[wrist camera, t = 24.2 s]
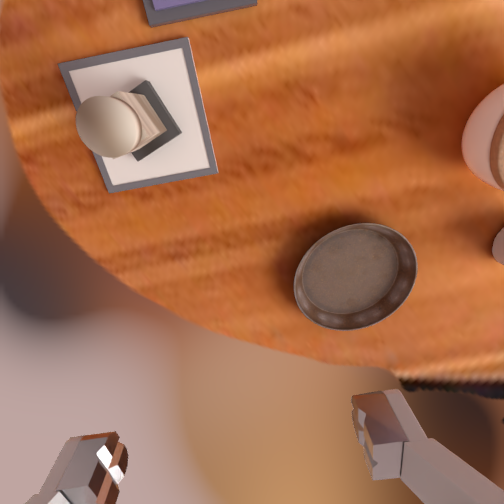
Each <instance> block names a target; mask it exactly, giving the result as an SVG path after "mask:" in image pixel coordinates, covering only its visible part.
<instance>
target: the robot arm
mask: <svg viewBox="0 0 504 504" xmlns="http://www.w3.org/2000/svg"><path fill="white" fill-rule="evenodd" d="M351 403H352V406H353V408H354V409H353V411H352V420H353V425H354V428H355V432H356V435H357V438H358V441H359V443H360V444H361V445H363V446H364V458H365V461H366V464H367V466H368V469H369V471H370V474H371V477H372V480H381V479H390V478H400V477H401V480H402V481H403V482H404V483H405V484H406V485H407V486H408V487H409V488H410V489H411V490H412V491H413V492H414V493H415V494H416V495H417V496H418V497H419V498H420V500H422V502H423V503H424V504H504V491H503V490H502V489H501V488H499V487H498V486H496V485H495V484H494V483H492V482H491V481H490V480H488V479H487V478H486V477H484V476H483V475H482V474H480V473H479V472H478V471H476V470H475V469H474V468H472V467H471V466H470V465H468V464H467V463H465V462H464V461H463V460H461V459H460V458H459V457H457V456H456V455H455V454H453V453H452V452H451V451H449V450H448V449H447V448H445V447H444V446H442V445H441V444H440V443H438V442H437V441H436V440H434V439H433V438H430V439H428V438H427V437H426V435H425V433H424V431H423V430H422V428H421V426H420V424H419V423H418V421H417V419H416V418H415V416H414V414H413V412H412V410H411V409H410V407H409V405H408V404H407V402H406V400H405V398H404V397H403V395H402V393H401V392H400V391H399V390H398V389H392V390H386V391H377V392H371V393H365V394H359V395H353V396H352V398H351ZM118 440H119V436H118V434H117V433H116V431H115V432H108V433H101V434H93V435H85V436H78V437H71V438H70V439H69V440H68V441H67V442H66V443H65V445H64V447H63V449H62V450H61V452H60V454H59V456H58V458H57V460H56V462H55V464H54V466H53V468H52V469H51V471H50V473H49V475H48V477H47V479H46V481H45V483H44V484H43V486H42V488H41V490H40V492H39V494H35V495H33V496H32V497H31V498H30V499H29V500H28V501H27V502H26V503H25V504H116V501H117V498H118V495H119V487H118V483H119V482H120V481H121V479H122V478H123V477H124V476H125V472H126V469H127V465H128V453H127V449H126V447H125V445H124V444H122V443H120V442H118Z"/></svg>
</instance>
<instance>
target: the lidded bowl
mask: <svg viewBox="0 0 504 504" xmlns="http://www.w3.org/2000/svg"><path fill="white" fill-rule="evenodd" d="M462 153H463V158H464V160H465V163H466V165H467V166H468V168H469V169H470V170H471V172H472V173H473V174H474V175H475V176H476V177H478V178H479V179H480V180H482V181H483V182H485V183H487V184H489V185H491V186H493V187H494V188H497V189H500V190H503V191H504V83H503V84H502V85H500V86H499V87H497V88H496V89H495V90H493V91H492V92H491V93H490V94H488V95H487V96H486V97H485V98H484V99H483V100H482V101H481V102H480V103H479V105H478V106H477V107H476V108H475V109H474V111H473V112H472V114H471V115H470V117H469V119H468V121H467V123H466V126H465V128H464V132H463V135H462Z"/></svg>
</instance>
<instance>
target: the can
mask: <svg viewBox="0 0 504 504" xmlns="http://www.w3.org/2000/svg"><path fill="white" fill-rule="evenodd" d="M492 253H493V257H494V258H495V260H496V261H497V262H499V263H501V264H503V265H504V228H502V229H501V231H500V232H499V233H498V234H497V236H496V237H495V239H494V243H493V247H492Z"/></svg>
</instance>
